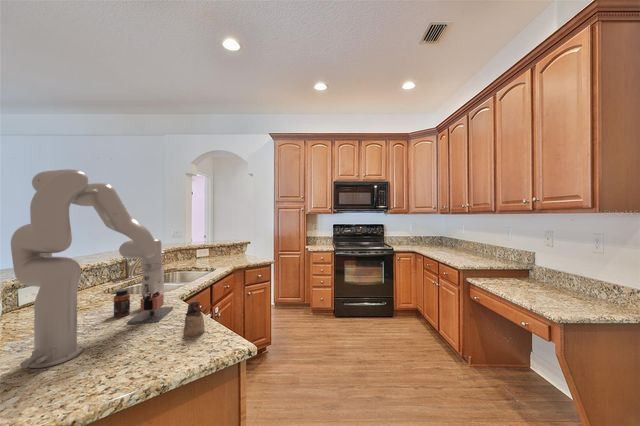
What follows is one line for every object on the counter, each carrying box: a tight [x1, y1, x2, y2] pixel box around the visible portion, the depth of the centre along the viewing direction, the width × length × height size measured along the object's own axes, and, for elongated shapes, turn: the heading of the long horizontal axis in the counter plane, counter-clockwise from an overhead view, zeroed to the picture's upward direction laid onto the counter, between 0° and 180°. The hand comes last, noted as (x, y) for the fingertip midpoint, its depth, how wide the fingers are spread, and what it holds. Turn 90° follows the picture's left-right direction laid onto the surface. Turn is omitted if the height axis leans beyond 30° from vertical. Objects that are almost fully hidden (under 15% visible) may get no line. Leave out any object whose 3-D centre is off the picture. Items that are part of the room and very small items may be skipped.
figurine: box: [183, 300, 206, 338], centre depth 98 cm, size 7×7×12 cm
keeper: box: [126, 306, 174, 325], centre depth 116 cm, size 16×12×6 cm
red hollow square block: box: [140, 294, 164, 312], centre depth 116 cm, size 6×6×5 cm
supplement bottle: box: [113, 288, 131, 318], centre depth 117 cm, size 6×6×11 cm
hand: (152, 306), depth 116 cm, fingers closed on red hollow square block, 6 cm apart
